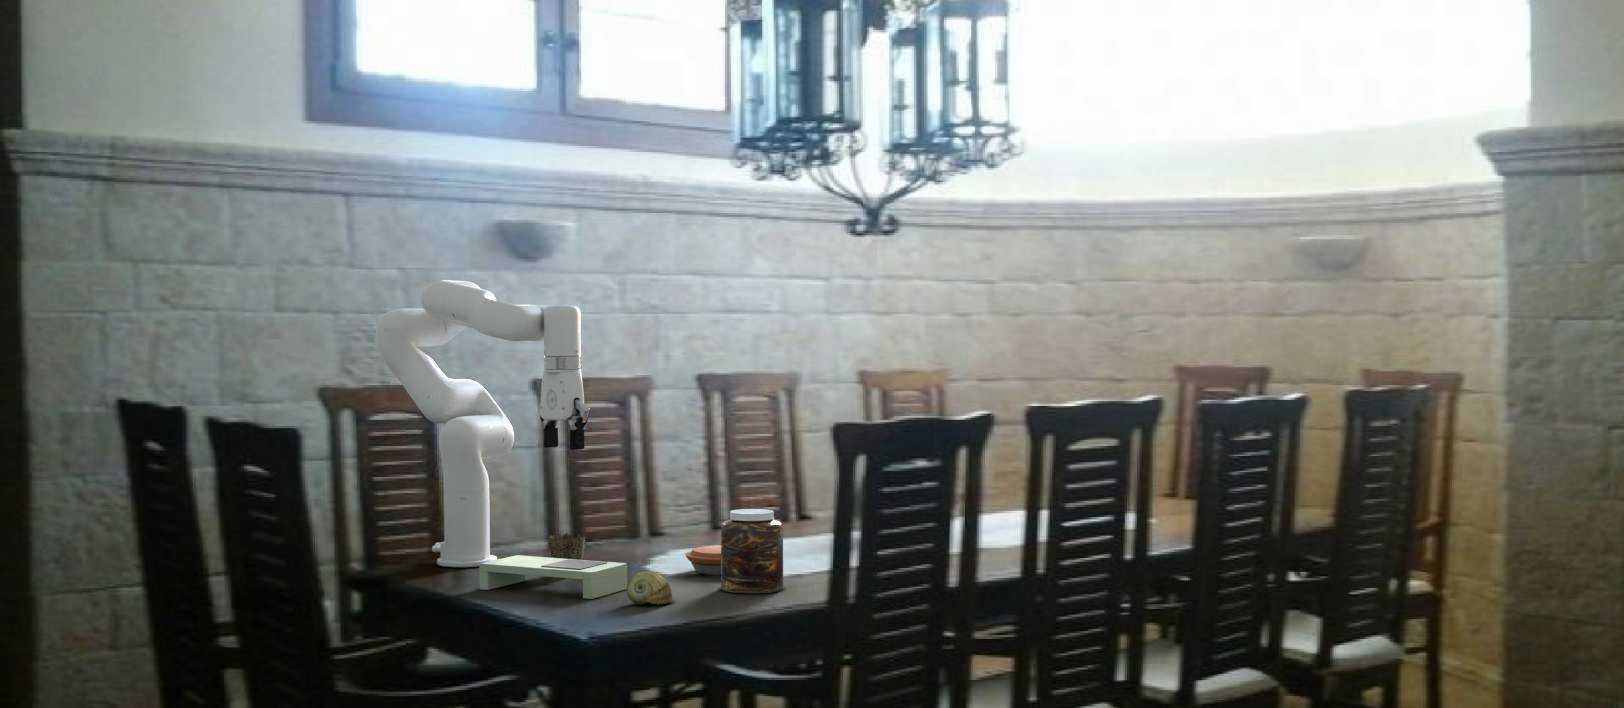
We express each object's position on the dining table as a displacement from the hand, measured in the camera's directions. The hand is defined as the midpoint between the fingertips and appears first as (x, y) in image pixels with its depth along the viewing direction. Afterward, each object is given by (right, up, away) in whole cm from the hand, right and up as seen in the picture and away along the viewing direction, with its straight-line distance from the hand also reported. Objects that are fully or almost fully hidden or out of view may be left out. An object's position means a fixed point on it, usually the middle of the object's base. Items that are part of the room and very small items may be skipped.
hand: (563, 448), depth 312 cm
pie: (+33, -26, +2) cm, 42 cm away
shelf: (+1, -26, -19) cm, 32 cm away
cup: (+1, -26, -1) cm, 26 cm away
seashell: (+21, -26, -35) cm, 48 cm away
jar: (+40, -26, -20) cm, 51 cm away
